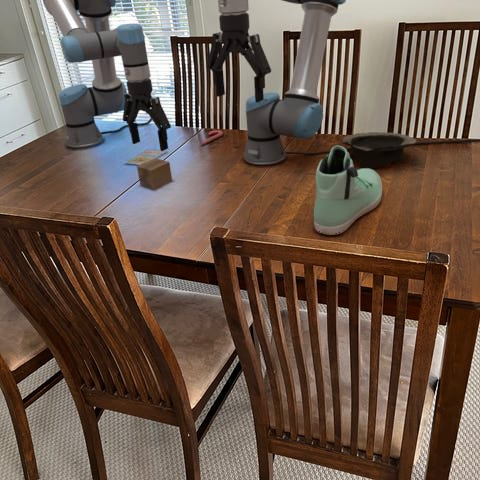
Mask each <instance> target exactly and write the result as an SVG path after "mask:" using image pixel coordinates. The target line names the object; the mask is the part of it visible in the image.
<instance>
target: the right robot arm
mask: <svg viewBox="0 0 480 480" xmlns="http://www.w3.org/2000/svg"><path fill="white" fill-rule="evenodd" d="M281 1H283V2H286V3H291V4H295V5H301V6H300V8H301V9H302V10H303V12H304V16H303V21H302V26H301V32H300V37H299V40H298V41H299V42H298V47H297V51H296V52H297V53H296V58H295V63H294V68H293V73H292V77H291V78H292V79H291V84H290V88H289V90H287V91H286V92H285V93H284V96H283V99H280V98H281V97H280V94H279V93H278V92H264V89H266V75H268V74H271V73H272V67H271V65H270V63H269V61H268V58H267V56H266V54H265V51H264V48H263V47H262V44H261V38H260V34H259V33H256V34H255V33H254V34H252V35H250V33H249V30H250V14H249V13H248V11H249V10H250V9H249V8H250V7H249V0H217V7H218V13H219V14H220V15H219V16H218V21H219V30H220V31H219V32H215V33H212V36H211V37H212V39H211V40H212V42H211V47H210V51H209V55H208V58H207V62H206V69H207V70H211V72H212V77H213V82H214V84H215V92H216V97H218V98H219V97H222V96H225V95H226V91H225V77H224V70H222V67H223V65H224V63H226V60H227V58H228V56H229V55H230V54H233V53H235V54H240V55H241V56H243V57H244V59H245V61H246V62H247V63H248V65H249V66H250V68H251V69H252V71H253V72H254V74H255V76H254V77H253V83H254V95H253V96H251V97H249V98H247V99H246V102H245V117H246V131H247V142H246V146H245V150H244V153H243V161H244V163H246V164H247V165H250V166H252V167H258V168H259V167H260V168H266V167H274V166H277V165H280V164H282V163H284V162H285V161H286V159H287V155H300V156H311V155H313V156H314V155H321V154H322V155H323V154H330V152H331V150H323V151H316V152H298V151H296V152H295V151H286V150H285V147H284V144H283V141H282V139H281V136H283V137H284V136H285V137H288V138H289V137H290V138H295V139H303V140H307V139H311V138H313V137H314V136H315V135H316V134H317V133H318V131H319V130H320V128H321V125H322V123H323V119H324V108H323V106H322V104H320V98H319V96H318V95H317V92H318V91H317V90H318V85H319V80H320V77H321V76H320V75H321V71H322V65H323V61H324V55H325V51H326V46H327V40H328V35H329V31H330V25H331V20H332V17H333V16H334V15H336V14H337V13H338V9H339V6H340V5H343V4H346V1H347V0H281ZM222 43H223V45H222ZM416 142H417V143H415V144H414V145H431V144H449V143H450V144H451V143H468V142H480V138H476V139H475V138H473V139H456V140H455V139H454V140H436V141H420V142H419V141H416ZM345 149H346V150H347V151H351V147H348V148H345Z"/></svg>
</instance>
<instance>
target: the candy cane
mask: <svg viewBox="0 0 480 480" xmlns="http://www.w3.org/2000/svg"><path fill="white" fill-rule="evenodd" d="M212 135H213V136H212ZM223 135H224V133H223V131H222V130H212V131H209V132H208V136H210V137H209V138H207V139H205V140H203V141H201V142H200V145H201V146H205V145H206V144H208V143H210V142H212V141H214V140H217V139H218V138H220V137H222V136H223Z"/></svg>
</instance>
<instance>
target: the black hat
mask: <svg viewBox="0 0 480 480" xmlns="http://www.w3.org/2000/svg"><path fill="white" fill-rule="evenodd" d="M417 142H418V141H417V139H415V138H413V137H411V136H409V135H407V134H402V133H397V132H384V131H383V132H381V131H379V132H378V131H377V132H375V131H370V132H359V133H358V132H357V133H353V134H350V135H345V136H344V137H342V141H341V144H342V145H346V146H348V147H349V148H351V150H350V152H351V155H352V156H353V157H354V159H356V160H358V161H359V162H360V166H361V167H363V168H369V169H372V168H373V169H377V168H380V167H382V168H385V167H389V166H390V165H391V164H392V162H393V163H394V162H395V163H397V162H401V161H402V160H403V156H404V148H408V147H411V146H413V145H416V144H415V143H417Z"/></svg>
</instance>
